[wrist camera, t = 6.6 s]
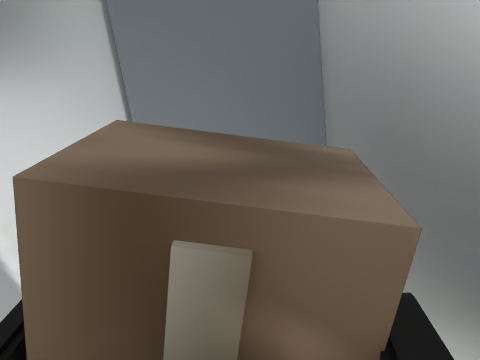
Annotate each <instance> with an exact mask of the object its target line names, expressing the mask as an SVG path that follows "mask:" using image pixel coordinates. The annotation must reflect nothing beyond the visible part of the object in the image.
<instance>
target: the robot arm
mask: <svg viewBox="0 0 480 360" xmlns="http://www.w3.org/2000/svg"><path fill="white" fill-rule="evenodd" d="M0 360H27V354H26V341H25V328H24V315H23V303H22V300H21V301H20V302H19V303H18V304H17V305H16V306H15V307H14V308H13V310H11V312H10V313H9V314H8V315H7V316H6V317H5V318H4V319H3V320H2V321H1V322H0ZM380 360H454V359H453V357H452V356H451V354H450V352H449V351H448V349H447V348H446V346H445V344H444V343H443V341H442V340H441V338H440V337H439V335H438V333H437V332H436V330H435V329H434V327H433V325H432V324H431V322H430V321H429V319H428V318H427V316H426V314H425V313H424V311H423V310H422V308H421V307H420V305H419V303H418V302H417V300H416V299H415V297H414V296H413V295H412V294H411V293H409V292H408V293H402V295H401V299H400V302H399V305H398V308H397V312H396V315H395V318H394V321H393V325H392V328H391V331H390V335H389V338H388V341H387V344H386V348H385V351H380Z"/></svg>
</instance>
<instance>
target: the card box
mask: <svg viewBox="0 0 480 360" xmlns="http://www.w3.org/2000/svg"><path fill="white" fill-rule="evenodd" d="M13 188H14V200H15V213H16V226H17V239H18V252H19V264H20V277H21V290H22V303H23V315H24V328H25V341H26V354H27V360H380V351H385V348H386V344H387V341H388V338H389V335H390V331H391V328H392V325H393V321H394V318H395V315H396V312H397V308H398V305H399V302H400V299H401V295H402V292H403V289H404V286H405V282H406V279H407V276H408V272H409V269H410V266H411V263H412V259H413V256H414V253H415V250H416V246H417V243H418V240H419V237H420V233H421V230H422V228H421V227H420V226H419V224H418V223H417V222H416V221H415V220H414V219H413V218H412V217H411V216H410V215H409V213H408V212H407V211H406V210H405V209H404V208H403V207H402V206H401V205H400V203H399V202H398V201H397V200H396V199H395V198H394V197H393V196H392V195H391V194H390V192H389V191H388V190H387V189H386V188H385V187H384V186H383V185H382V184H381V183H380V181H379V180H378V179H377V178H376V177H375V176H374V175H373V174H372V173H371V172H370V170H369V169H368V168H367V167H366V166H365V165H364V164H363V163H362V162H361V160H360V159H359V158H358V157H357V156H356V155H355V154H354V153H353V152H352V151H351V150H349V149H342V148H334V147H326V146H318V145H310V144H302V143H294V142H286V141H278V140H270V139H263V138H255V137H247V136H239V135H231V134H223V133H215V132H207V131H199V130H191V129H184V128H176V127H168V126H160V125H152V124H144V123H136V122H128V121H120V120H116V121H114V122H112V123H111V124H109V125H107V126H105V127H103V128H101V129H99V130H98V131H96V132H94V133H92V134H90V135H88V136H87V137H85V138H83V139H81V140H79V141H77V142H76V143H74V144H72V145H70V146H68V147H66V148H65V149H63V150H61V151H59V152H57V153H55V154H54V155H52V156H50V157H48V158H46V159H44V160H43V161H41V162H39V163H37V164H35V165H33V166H32V167H30V168H28V169H26V170H24V171H22V172H21V173H19V174H17V175H15V176H13Z"/></svg>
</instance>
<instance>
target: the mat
mask: <svg viewBox="0 0 480 360" xmlns="http://www.w3.org/2000/svg"><path fill="white" fill-rule="evenodd" d="M106 3H107V8H108V12H109V17H110V22H111V26H112V31H113V35H114V40H115V45H116V49H117V54H118V59H119V63H120V68H121V72H122V77H123V82H124V86H125V91H126V96H127V100H128V105H129V109H130V114H131V119H132V122H136V123H144V124H152V125H160V126H168V127H176V128H184V129H191V130H199V131H207V132H215V133H223V134H231V135H239V136H247V137H255V138H263V139H270V140H278V141H286V142H294V143H302V144H310V145H318V146H326V135H325V118H324V101H323V83H322V66H321V49H320V32H319V14H318V0H106Z"/></svg>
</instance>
